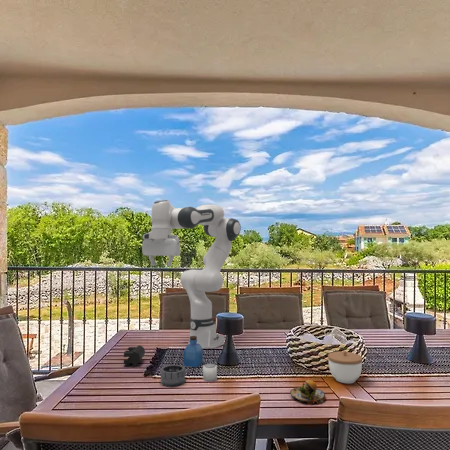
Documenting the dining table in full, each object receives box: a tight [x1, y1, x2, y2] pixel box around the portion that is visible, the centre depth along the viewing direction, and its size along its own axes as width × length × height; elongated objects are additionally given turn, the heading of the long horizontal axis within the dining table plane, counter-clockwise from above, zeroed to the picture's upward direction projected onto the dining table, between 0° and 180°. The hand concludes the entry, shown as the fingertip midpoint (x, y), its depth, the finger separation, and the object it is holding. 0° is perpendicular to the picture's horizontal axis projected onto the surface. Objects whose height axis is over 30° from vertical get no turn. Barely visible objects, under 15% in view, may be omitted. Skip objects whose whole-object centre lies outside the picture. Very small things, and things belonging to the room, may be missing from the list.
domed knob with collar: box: [160, 364, 186, 388], centre depth 142 cm, size 9×9×5 cm
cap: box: [202, 363, 218, 383], centre depth 145 cm, size 5×5×5 cm
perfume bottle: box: [183, 335, 204, 368], centre depth 163 cm, size 6×6×12 cm
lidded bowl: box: [327, 350, 363, 384], centre depth 144 cm, size 13×13×11 cm
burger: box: [289, 376, 326, 406], centre depth 128 cm, size 12×12×8 cm
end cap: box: [123, 345, 146, 368], centre depth 165 cm, size 10×7×7 cm
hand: (161, 265), depth 169 cm, fingers open, 8 cm apart
